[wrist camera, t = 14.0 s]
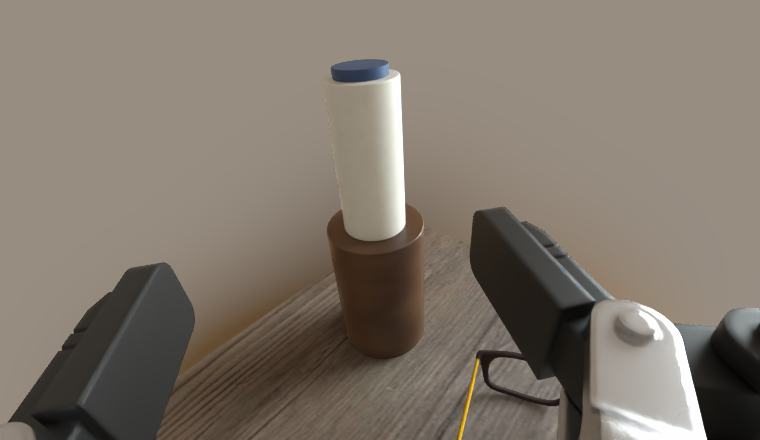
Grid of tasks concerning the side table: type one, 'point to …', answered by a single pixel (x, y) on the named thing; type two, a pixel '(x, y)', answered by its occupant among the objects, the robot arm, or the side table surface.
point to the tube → (367, 146)
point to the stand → (381, 286)
